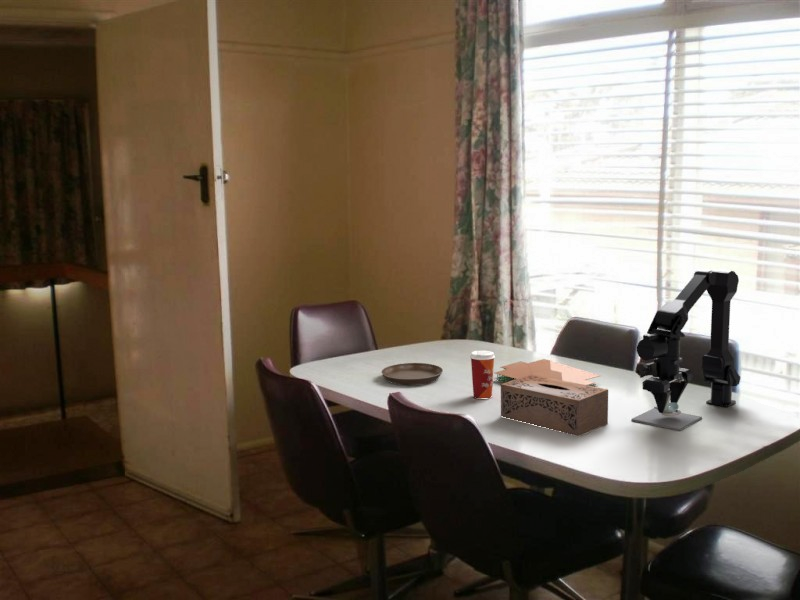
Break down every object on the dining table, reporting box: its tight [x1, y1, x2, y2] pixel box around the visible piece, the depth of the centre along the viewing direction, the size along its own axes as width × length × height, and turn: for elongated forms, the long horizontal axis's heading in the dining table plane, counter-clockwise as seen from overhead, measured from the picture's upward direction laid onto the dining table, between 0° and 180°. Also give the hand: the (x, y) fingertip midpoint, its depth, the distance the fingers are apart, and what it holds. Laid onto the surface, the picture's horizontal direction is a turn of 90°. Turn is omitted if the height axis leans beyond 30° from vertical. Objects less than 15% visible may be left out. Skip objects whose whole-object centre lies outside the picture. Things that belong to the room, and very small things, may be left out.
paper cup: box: [469, 350, 496, 399], centre depth 261 cm, size 8×8×14 cm
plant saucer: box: [381, 362, 444, 386], centre depth 286 cm, size 21×21×3 cm
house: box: [494, 358, 601, 386], centre depth 277 cm, size 23×33×8 cm
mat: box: [631, 407, 703, 431], centre depth 236 cm, size 14×14×1 cm
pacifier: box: [653, 396, 682, 416], centre depth 234 cm, size 7×6×6 cm
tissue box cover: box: [500, 375, 609, 437], centre depth 237 cm, size 26×14×10 cm, turn 46°
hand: (667, 409), depth 235 cm, fingers closed on pacifier, 7 cm apart
